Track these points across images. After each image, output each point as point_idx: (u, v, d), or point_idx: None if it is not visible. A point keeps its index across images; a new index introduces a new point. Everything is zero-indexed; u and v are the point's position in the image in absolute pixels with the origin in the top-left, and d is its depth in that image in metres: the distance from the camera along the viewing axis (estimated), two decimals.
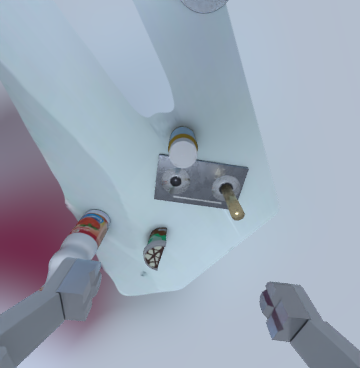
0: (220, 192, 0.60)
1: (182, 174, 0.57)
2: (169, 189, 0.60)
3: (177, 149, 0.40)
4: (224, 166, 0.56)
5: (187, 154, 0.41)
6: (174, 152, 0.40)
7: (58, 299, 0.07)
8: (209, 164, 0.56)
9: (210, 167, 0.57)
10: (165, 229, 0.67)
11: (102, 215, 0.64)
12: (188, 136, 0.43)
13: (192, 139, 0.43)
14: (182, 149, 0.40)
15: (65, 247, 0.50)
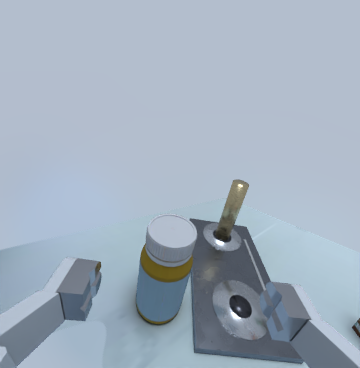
0: (229, 240, 0.43)
1: (223, 293, 0.31)
2: (262, 319, 0.29)
3: (163, 236, 0.22)
4: None
5: (171, 224, 0.24)
6: (169, 241, 0.21)
7: (58, 299, 0.07)
8: (193, 255, 0.38)
9: (198, 253, 0.38)
10: (357, 326, 0.31)
11: None
12: (144, 245, 0.25)
13: None
14: (162, 230, 0.23)
15: None
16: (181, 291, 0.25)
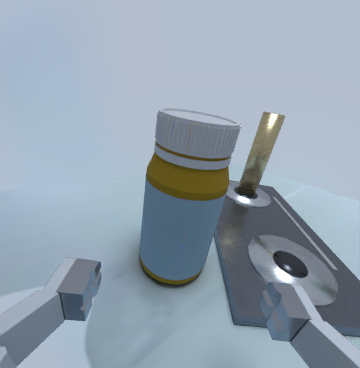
0: (256, 197, 0.34)
1: (262, 249, 0.22)
2: (325, 280, 0.20)
3: (186, 118, 0.13)
4: None
5: (195, 116, 0.15)
6: (197, 121, 0.12)
7: (58, 299, 0.07)
8: None
9: None
10: None
11: None
12: None
13: None
14: (183, 116, 0.14)
15: None
16: (212, 227, 0.16)
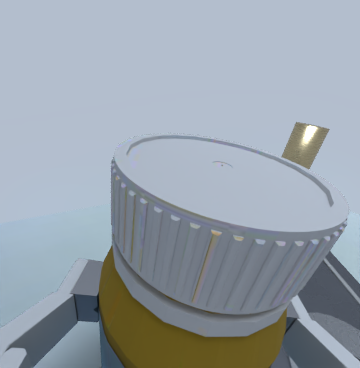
0: None
1: None
2: None
3: (191, 181, 0.04)
4: None
5: (210, 155, 0.06)
6: (228, 198, 0.04)
7: (72, 301, 0.07)
8: None
9: None
10: None
11: None
12: None
13: None
14: (183, 164, 0.05)
15: None
16: None
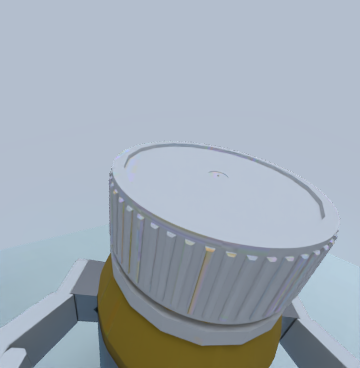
0: None
1: None
2: None
3: (187, 194, 0.04)
4: None
5: (206, 164, 0.07)
6: (222, 213, 0.04)
7: (72, 301, 0.07)
8: None
9: None
10: None
11: None
12: None
13: None
14: (180, 175, 0.05)
15: None
16: None
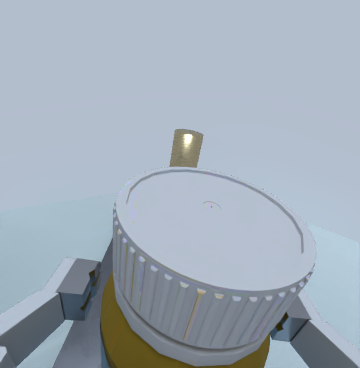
0: None
1: None
2: None
3: (182, 231, 0.05)
4: None
5: (201, 193, 0.07)
6: (213, 251, 0.04)
7: (58, 299, 0.07)
8: (104, 265, 0.21)
9: None
10: None
11: None
12: None
13: None
14: (176, 208, 0.06)
15: None
16: None
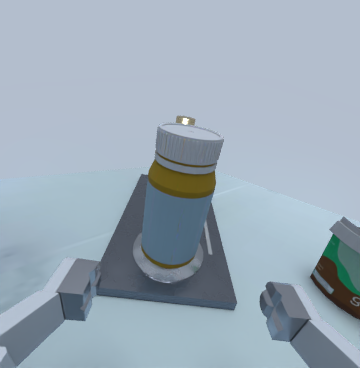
0: None
1: None
2: (193, 262, 0.23)
3: (180, 133, 0.16)
4: (136, 190, 0.36)
5: (188, 130, 0.18)
6: (189, 136, 0.16)
7: (58, 299, 0.07)
8: (130, 203, 0.32)
9: (136, 202, 0.33)
10: (315, 273, 0.25)
11: None
12: None
13: None
14: (178, 130, 0.17)
15: None
16: (201, 220, 0.19)
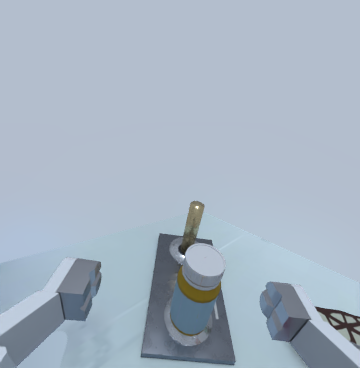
0: None
1: None
2: (205, 327, 0.34)
3: (199, 266, 0.27)
4: (158, 253, 0.47)
5: (203, 254, 0.29)
6: (205, 270, 0.26)
7: (58, 299, 0.07)
8: (156, 269, 0.43)
9: (160, 268, 0.43)
10: None
11: None
12: (179, 270, 0.30)
13: (182, 265, 0.31)
14: (197, 260, 0.28)
15: None
16: (212, 308, 0.30)
